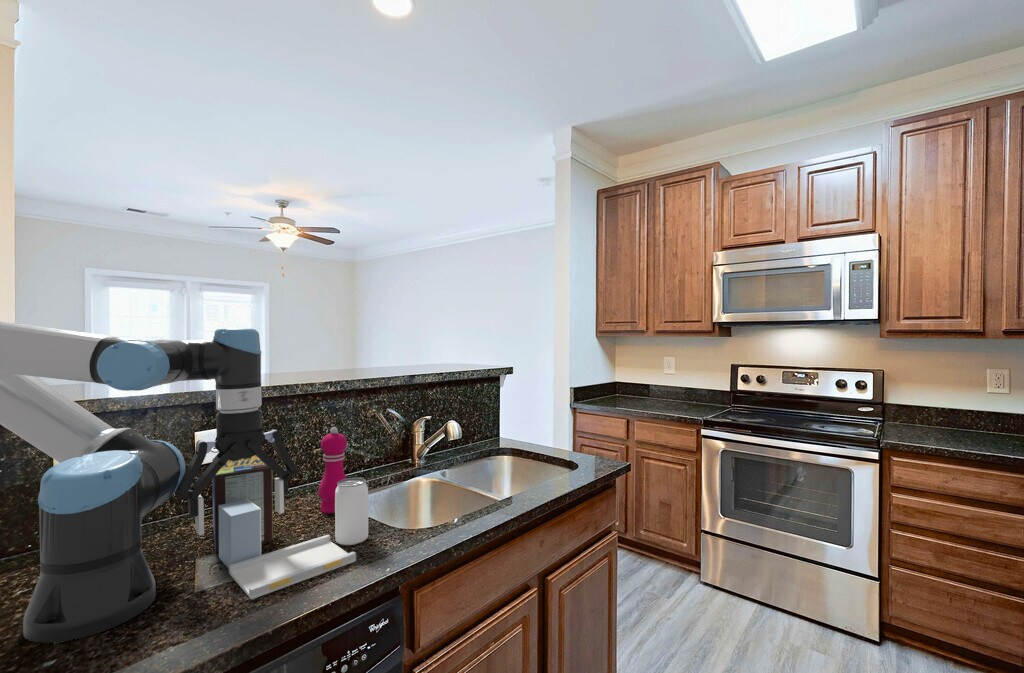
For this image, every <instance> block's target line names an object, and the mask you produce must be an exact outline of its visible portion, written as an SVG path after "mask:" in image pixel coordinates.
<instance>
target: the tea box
mask: <svg viewBox="0 0 1024 673" xmlns="http://www.w3.org/2000/svg"><path fill="white" fill-rule="evenodd" d="M260 555H262V542H261V508H259V507H258V506H256V505H255V504H254V503H252V502H251V501H250V500H248V499H244V500H240V501H235V502H231V503H226V504H222V505H219V552H218V558H219V559H220V561H221V562H222V563H223V564H224V565H225V566H226V567H227V569H229V565H231V564H234V563H238V562H241V561H244V560H247V559H251V558H254V557H257V556H260Z"/></svg>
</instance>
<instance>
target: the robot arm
mask: <svg viewBox="0 0 1024 673" xmlns="http://www.w3.org/2000/svg"><path fill="white" fill-rule="evenodd" d="M260 338H261V337H260V333H259V331H257V329H255V328H217V329H216V330H214V336H213V337H212V338H209V339H156V340H143V339H136V338H128V337H121V336H111V335H105V334H97V333H96V334H95V333H92V332H91V333H89V332H81V331H76V330H75V331H74V330H67V329H59V328H53V327H45V326H39V325H31V324H22V323H14V322H7V321H0V425H1V426H2V427H4V428H5V429H7V430H8V431H10V432H12V433H13V434H14V435H16V436H18V437H19V438H21V439H22V440H24V441H25V442H27V443H29V444H30V445H32V447H35V448H36V449H38V450H39V451H41V452H42V453H44V454H46V455H47V456H49V457H50V458H52V459H53V460H55V461H56V462H58V463H57V464H55V465H53V466H51V467H50V468H49V469H48V470H47V471H45V473H43V475H42V477H41V479H40V487H39V489H40V490H39V492H38V496H37V504H38V506H39V507H38V508H39V557H40V558H39V561H40V562H39V563H40V564H39V565H40V567H39V568H40V571H39V572H40V573H39V577H38V580H37V582H36V586H35V587H34V590H33V593H32V596H31V598H30V600H29V603H28V605H27V608H26V610H25V613H24V615H23V621H22V622H23V624H22V625H23V627H22V631H23V632H22V633H23V634H22V635H23V637H24V639H25V640H27V639H28V640H27V641H29V640H30V641H29V642H31V641H34V642H33V643H36V642H48V643H47V644H55V643H54V642H56V643H62V641H64V642H68V641H69V640H70V641H73V639H75V640H78V638H79V639H82V637H83V638H87V637H90V636H92V635H95V634H99V633H102V632H105V631H107V630H110V629H113V628H115V627H118V626H119V625H121V624H123V623H126V622H128V621H130V620H131V619H133V618H135V617H137V616H138V615H139V614H141V613H143V612H144V611H145V610H147V609H148V608H149V607H150V606H151V605H152V603H153V602H154V601H155V598H156V595H157V594H156V590H157V589H156V588H157V587H156V579H155V577H154V576H153V573H152V570H151V569H150V566H149V564H148V561H147V560H146V558H145V555H144V553H143V549H142V548H143V546H142V545H143V544H142V539H143V538H142V536H143V535H142V518H143V517H144V516H146V515H147V514H149V513H150V512H151V511H153V510H154V509H156V508H158V506H161V505H162V504H164V503H166V502H167V501H169V499H170V498H171V496H172V495H174V494H175V495H176V496H177V497H178V498H179V499H187V506H188V508H187V509H188V510H187V512H188V515H189V517H191V518H194V517H195V519H194V521H195V523H194V524H195V527H194V528H195V533H196V534H197V535H198V536H204V535H205V512H204V511H205V509H204V508H205V506H204V504H205V503H204V502H205V500H204V497H203V496H202V495H201V494H202V492H204V490H205V488H207V487H208V485H209V484H210V483H211V482H212V479H213V478H214V476H215V475H216V474H217V473H218V471H219V470H220V469H221V468H222V466H224V465H225V464H226V463H227V461H228V460H230V461H238V460H240V459H249V458H251V457H252V456H254V455H256V456H257V457H258V458H259V459H260V460H262V461H263V462H264V463H265V464H266V465H267V466H268V467H269V468H271V469H272V472H274V473H275V474H276V475H277V476H278V477H274V478H273V479H274V511H275V512H277V513H278V514H280V515H281V514H284V513H285V499H284V498H285V495H287V494H288V493H289V480H290V479H291V476H292V475H295V474H298V472H299V468H298V467H297V465H296V463H295V462H294V460H293V459H292V456H291V455H290V453H289V452H288V451H287V448H286V447H285V445H284V443H283V442H282V438H281V437H282V436H281V432H280V431H279V430H277V429H273V428H272V429H270V430H269V431H267V432H264V431H263V411H262V410H261V409H260V408H261V406H262V404H263V402H262V400H263V398H262V367H261V366H262V350H261V340H260ZM41 378H47V379H48V378H49V379H56V380H67V381H75V382H84V383H95V384H99V385H107V386H109V387H110V388H112V389H115V390H118V391H124V392H127V391H128V392H129V391H130V392H131V391H134V392H135V391H137V392H138V391H144V390H148V389H150V388H155V387H157V386H162V385H169V384H172V383H176V382H182V381H183V382H185V381H203V380H205V381H207V380H208V381H209V380H214V381H215V410H217V411H218V412H217V414H216V415H215V418H216V419H215V420H216V423H215V424H216V427H215V428H216V429H215V430H216V437H215V439H214V440H202V439H198V440H197V441H196V443H195V450H194V454H193V457H192V458H191V461H190V462H189V464H188V466H187V468H186V462H185V461H186V460H185V458H184V456H183V454H182V453H181V451H180V450H179V449H178V448H177V447H176V445H175V446H174V445H173V444H172V443H170V442H167V441H164V440H159V439H150V440H149V439H147V438H146V437H145V436H143V435H142V434H140V433H138V432H137V431H135V430H134V429H133V428H130V427H123V428H114V427H112V425H110V424H108V423H107V422H105V421H103V420H102V419H100V418H99V417H97V416H96V415H94V414H93V413H91V412H90V411H89V410H88V409H86V408H84V407H83V406H81V405H80V404H79V403H77V402H75V400H73V399H71V398H70V397H68V396H66V395H65V394H64V393H62V392H60V391H59V390H58V389H56V388H55V387H53V386H52V385H50V384H49V383H48V382H46V381H44V379H41ZM265 440H267V442H269V443H271V445H272V447H273V448H274V450H275V452H276V453H277V455H278V456H279V458H280V460H281V462H282V463H283V465H284V466H285V467H284V468H285V469H284V468H283V467H282V466H280V464H278V463H277V462H276V461H275V460H274V459H273V458H272V457H271V456H270V455H268V454H267V453H266V452H265V451H264V450H263V449H262V448H261V446H262V445H263V443H264V441H265ZM213 448H215V449H216V450H217V451H218V453H217V454H216V455H215V456H214V457H213V458H214V459H213V458H212V460H213V461H211V463H210V464H209V465H208V467H207V468H206V469H205V470H204V471H203V472H202V473H201V475H200V476H199V478H197V479H196V480H195V478H196V476H197V475H198V474H199V470H201V466H202V465H203V463H204V461H205V459H206V457H207V454H209V453H210V452H211V451H212V449H213ZM194 480H195V482H194ZM193 482H194V483H193ZM70 641H69V642H70ZM49 642H51V643H49ZM52 642H53V643H52Z"/></svg>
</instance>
